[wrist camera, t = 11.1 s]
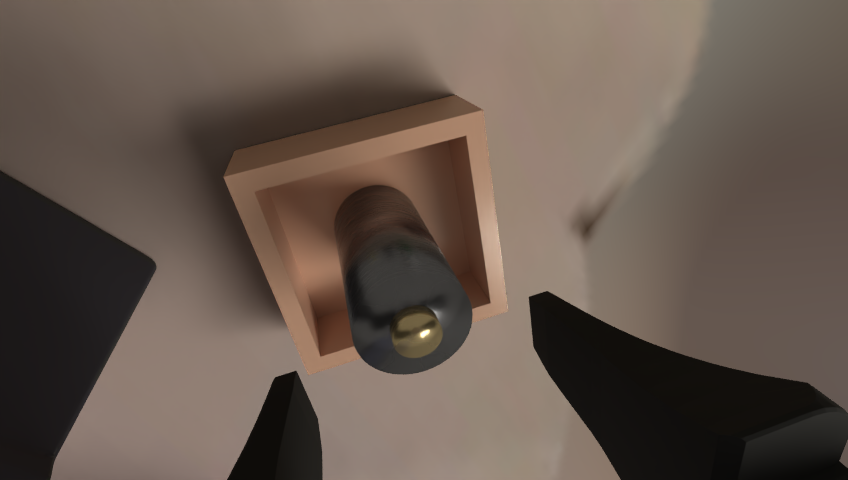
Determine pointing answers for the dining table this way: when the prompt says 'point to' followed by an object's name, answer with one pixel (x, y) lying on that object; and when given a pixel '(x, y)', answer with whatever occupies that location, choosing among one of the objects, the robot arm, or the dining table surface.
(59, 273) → the black box
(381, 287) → the pepper mill
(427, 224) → the tray
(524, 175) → the dining table surface
